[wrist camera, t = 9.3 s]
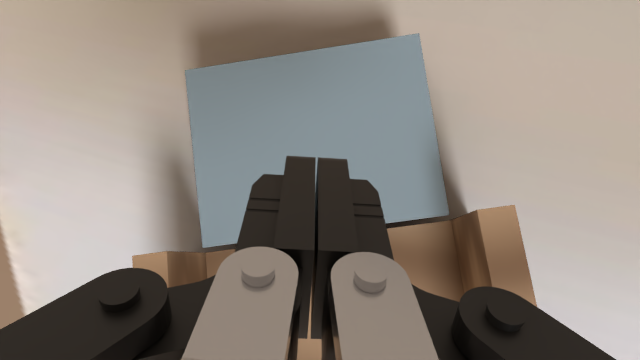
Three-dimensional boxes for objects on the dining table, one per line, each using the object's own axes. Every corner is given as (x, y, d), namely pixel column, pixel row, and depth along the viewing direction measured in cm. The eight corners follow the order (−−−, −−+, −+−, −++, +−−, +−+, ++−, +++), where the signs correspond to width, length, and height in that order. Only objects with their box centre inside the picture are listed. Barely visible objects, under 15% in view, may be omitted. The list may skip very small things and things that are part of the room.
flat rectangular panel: (449, 214, 22) (419, 33, 23) (202, 247, 23) (184, 70, 24) (439, 215, 24) (412, 50, 25) (216, 245, 25) (199, 83, 26)
